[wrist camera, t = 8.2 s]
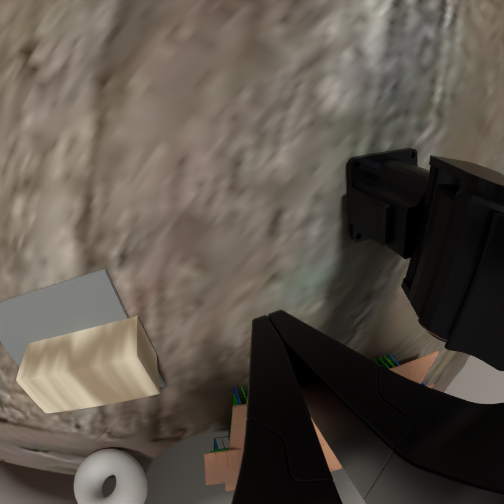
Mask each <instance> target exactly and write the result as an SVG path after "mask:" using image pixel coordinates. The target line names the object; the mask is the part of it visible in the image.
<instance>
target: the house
mask: <svg viewBox="0 0 504 504" xmlns="http://www.w3.org/2000/svg"><path fill="white" fill-rule="evenodd" d="M438 353H439V351H437V352H434V353H431V354H429V355H426V356H424V357H421V358H418V359H416V360H413V361H410V362H408V363H405V364H402V365H400V364H399V363H398V362H397V361H396V360H395V359H394V357H393V356H392V355H391V354H389V356H390V357H391V358H392V359H393V362H394V363H396V364H397V365H398V366H396V367H395V366H394V364H392V362H391V361H390V360H389V359H388V358H386V356H385V355H384V357H385V358H386V359H387V360H388V362H389V363H390V364H391V365H392V368H389V367H388V365H387V364H388V363H384V362H383V361H382V359H381V358H380V357H379V359H380V360H381V361H382V362H383V365H385V366H386V367H387V368H388V369H389V370H391V371H393V372H395V373H397V374H399V375H401V376H403V377H405V378H408V379H410V380H412V381H415V382H417V383H419V384H422V385H424V384H423V383H422V381H423V379H424V377H425V376H426V374H427V372H428V371H429V369H430V367H431V366H432V364H433V362H434V360H435V359H436V357H437V355H438ZM374 361H375V362H376V363H377V361H376V360H375V359H374ZM378 365H379V364H378ZM383 365H382V366H383ZM424 386H425V385H424ZM433 386H434V384H432V385H430V386H428V387H430V388H432V387H433ZM247 387H248V385H247ZM241 388H242V386H241ZM234 390H235V393H236V396H237V399H236V396H235V393H233V394H234V397H235V399H234V398H233V400H234V402H233V407H232V409H233V411H232V415H231V417H232V419H231V426H230V427H231V428H230V431H229V434H228V436H225V437H228V438H229V442H230V443H229V448H227V449H225V447H224V449H225V450H221V449H218V446H217V442H216V438H214V451H211V453H207V454H204V463H205V479H206V485H211V484H220V483H226V485H225V491H231V490H235V487H236V483H237V479H238V475H239V470H240V465H241V460H242V454H243V447H244V438H245V426H246V420H247V419H246V414H247V404H241V401H240V398H243V397H245V394H244V391H243V388H242V391H243V394H244V396H243V397H239V395H238V392H237V390H236V387H234ZM246 397H248V396H246ZM246 397H245V399H246ZM235 400H236V402H235ZM238 402H239V405H238ZM246 402H247V399H246ZM234 403H235V405H234ZM236 403H237V405H236ZM311 419H312V418H311ZM312 422H313V424H314V427H315V430H316V433H317V436H318V439H319V441H320V444H321V447H322V450H323V453H324V455H325V458H326V461H327V464H328V467H329V469H330V472H331V471H334V470H338V469H340V468H343V467H342V466H341V464H340V463H339V461H338V460H337V458H336V456H335V455H334V453H333V452H332V450H331V449H330V447H329V445H328V444H327V442H326V441H325V439H324V437H323V436H322V434H321V433H320V431H319V429H318V428H317V426H316V425H315V423H314V421H313V420H312ZM217 438H222V437H217Z"/></svg>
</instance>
